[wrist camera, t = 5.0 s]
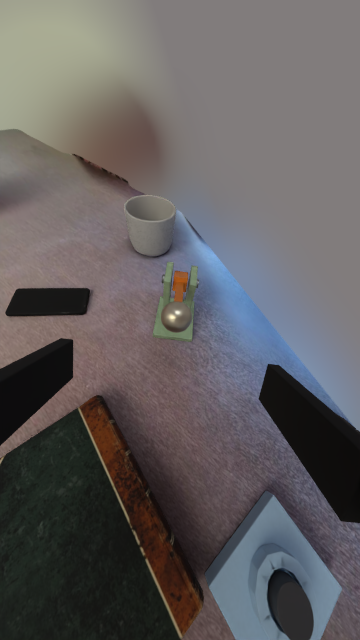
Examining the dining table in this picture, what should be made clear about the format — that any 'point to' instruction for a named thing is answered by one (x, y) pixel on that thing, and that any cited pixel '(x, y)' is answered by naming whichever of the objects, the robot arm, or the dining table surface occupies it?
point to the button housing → (268, 573)
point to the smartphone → (48, 301)
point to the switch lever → (177, 306)
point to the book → (87, 540)
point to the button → (290, 606)
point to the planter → (150, 224)
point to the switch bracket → (167, 280)
